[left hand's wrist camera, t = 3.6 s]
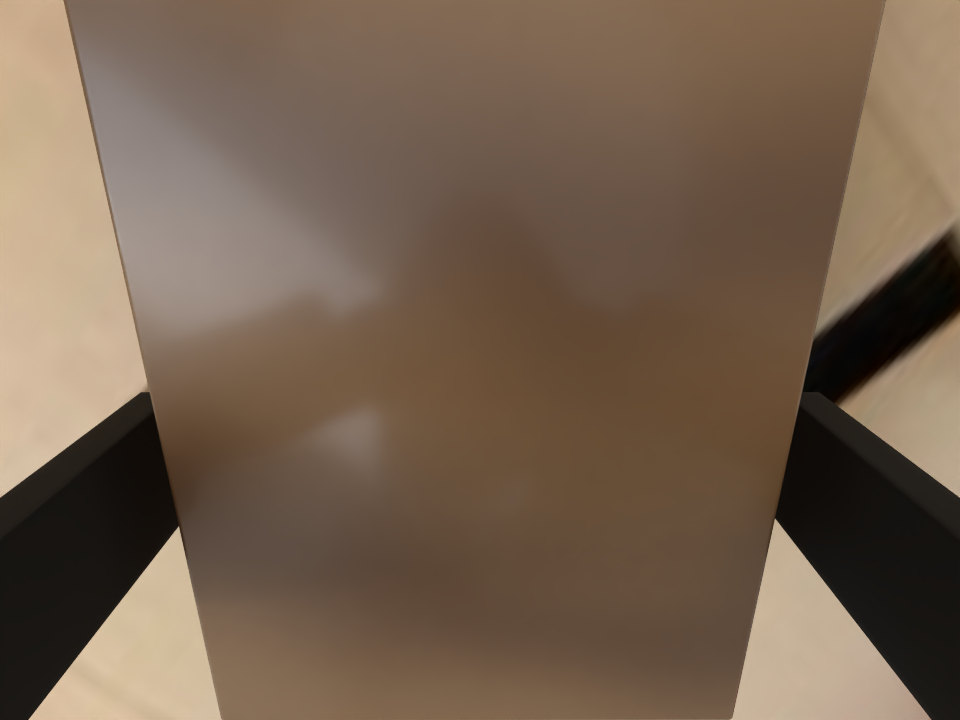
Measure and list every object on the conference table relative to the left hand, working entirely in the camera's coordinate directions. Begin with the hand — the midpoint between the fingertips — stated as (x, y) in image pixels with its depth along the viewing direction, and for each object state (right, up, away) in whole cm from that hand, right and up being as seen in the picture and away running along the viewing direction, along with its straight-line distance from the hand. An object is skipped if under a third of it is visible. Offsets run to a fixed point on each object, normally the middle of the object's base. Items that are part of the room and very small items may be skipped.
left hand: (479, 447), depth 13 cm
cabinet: (0, +8, +3) cm, 8 cm away
